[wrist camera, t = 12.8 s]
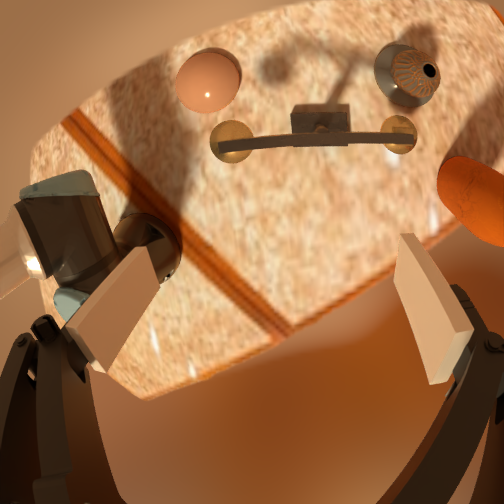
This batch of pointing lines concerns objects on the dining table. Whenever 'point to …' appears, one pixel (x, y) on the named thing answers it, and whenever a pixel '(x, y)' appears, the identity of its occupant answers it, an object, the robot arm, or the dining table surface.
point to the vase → (415, 73)
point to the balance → (310, 135)
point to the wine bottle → (474, 197)
